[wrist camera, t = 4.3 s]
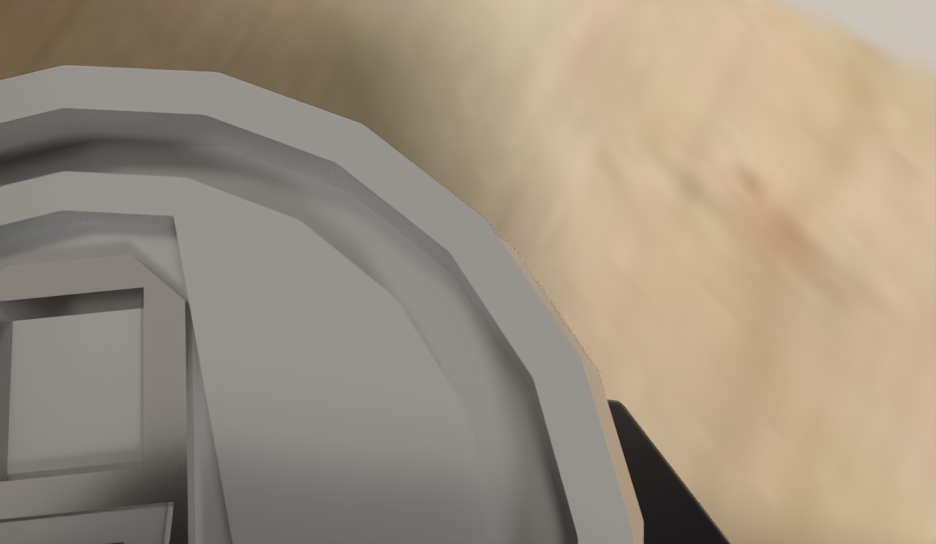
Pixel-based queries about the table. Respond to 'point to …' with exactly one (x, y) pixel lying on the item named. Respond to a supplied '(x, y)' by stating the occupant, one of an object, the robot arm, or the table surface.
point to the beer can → (272, 335)
